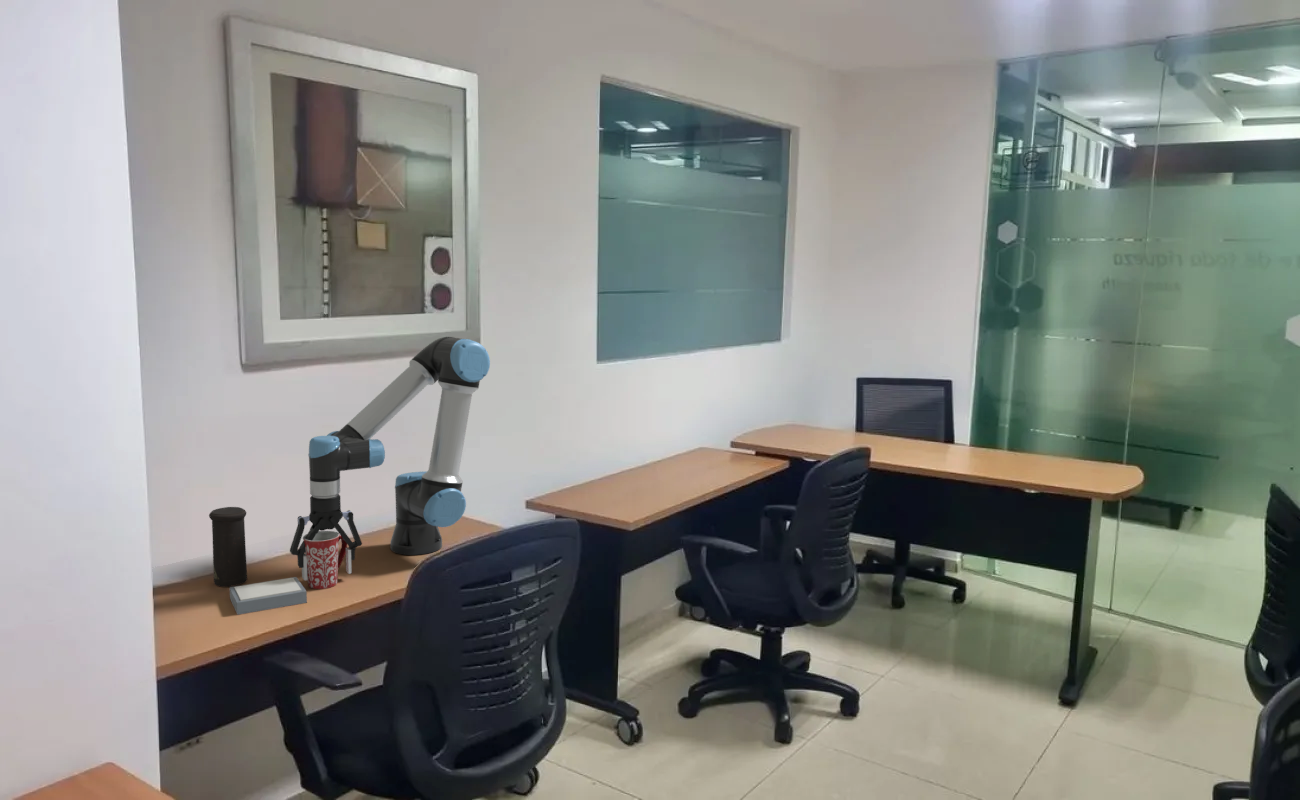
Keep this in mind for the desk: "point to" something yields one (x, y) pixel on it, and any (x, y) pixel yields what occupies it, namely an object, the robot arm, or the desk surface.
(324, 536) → the mug
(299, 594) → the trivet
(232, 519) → the container
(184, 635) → the desk surface
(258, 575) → the desk surface
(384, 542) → the desk surface
